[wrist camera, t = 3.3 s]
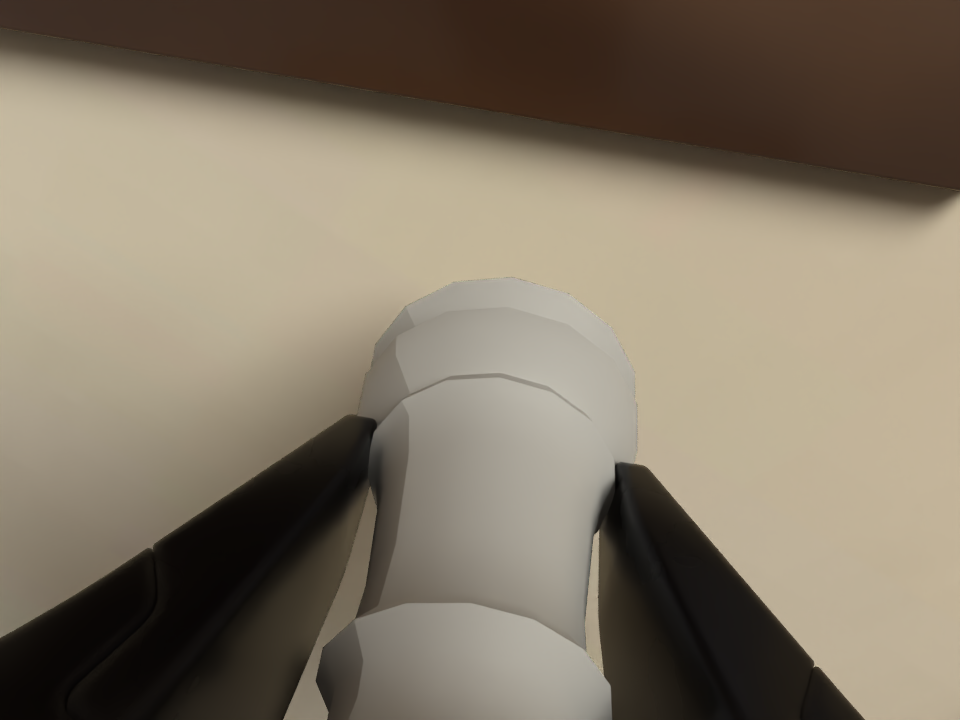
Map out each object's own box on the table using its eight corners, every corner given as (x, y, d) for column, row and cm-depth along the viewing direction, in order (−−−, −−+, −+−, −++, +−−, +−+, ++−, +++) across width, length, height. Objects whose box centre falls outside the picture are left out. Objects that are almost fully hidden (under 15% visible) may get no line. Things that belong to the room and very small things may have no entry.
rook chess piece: (321, 366, 11) (-88, 1021, 4) (519, 205, 9) (420, 882, 2) (488, 519, 12) (408, 1190, 5) (686, 406, 10) (956, 1197, 4)
